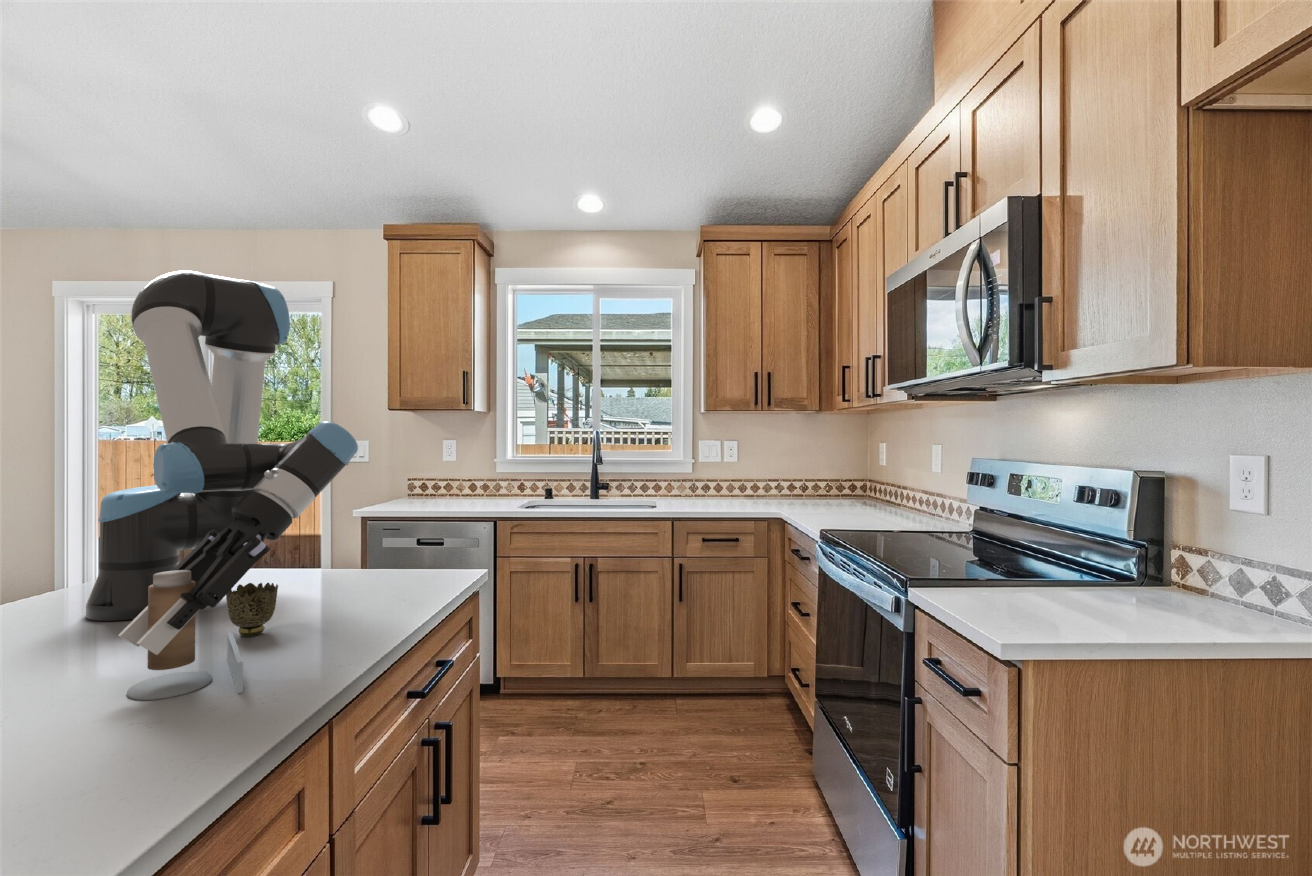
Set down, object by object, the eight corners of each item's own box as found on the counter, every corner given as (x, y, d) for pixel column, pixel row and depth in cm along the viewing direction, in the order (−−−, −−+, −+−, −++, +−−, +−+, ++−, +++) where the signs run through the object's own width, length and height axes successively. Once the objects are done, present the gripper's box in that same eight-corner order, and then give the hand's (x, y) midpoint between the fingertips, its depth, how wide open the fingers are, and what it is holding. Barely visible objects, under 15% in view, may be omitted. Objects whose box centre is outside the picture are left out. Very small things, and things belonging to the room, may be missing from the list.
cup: (251, 643, 101) (252, 593, 101) (213, 639, 102) (214, 590, 102) (287, 629, 108) (288, 583, 108) (251, 626, 109) (252, 580, 109)
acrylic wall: (227, 660, 93) (227, 633, 93) (231, 659, 93) (232, 632, 93) (237, 693, 81) (237, 662, 81) (242, 692, 82) (243, 661, 82)
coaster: (128, 683, 84) (128, 681, 84) (210, 668, 90) (210, 666, 90) (125, 706, 77) (125, 703, 77) (214, 688, 83) (214, 686, 83)
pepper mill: (147, 662, 84) (148, 572, 84) (194, 654, 87) (194, 567, 87) (147, 673, 80) (148, 579, 80) (196, 664, 83) (196, 574, 83)
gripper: (223, 486, 97) (84, 618, 82) (287, 492, 87) (142, 642, 73) (259, 517, 101) (133, 647, 87) (324, 525, 92) (194, 673, 78)
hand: (137, 644), depth 80 cm, fingers closed on pepper mill, 5 cm apart
